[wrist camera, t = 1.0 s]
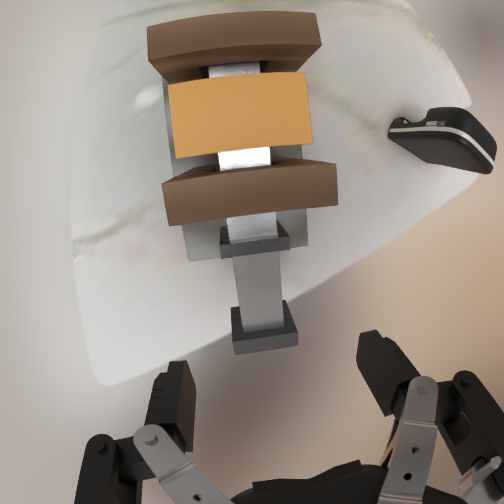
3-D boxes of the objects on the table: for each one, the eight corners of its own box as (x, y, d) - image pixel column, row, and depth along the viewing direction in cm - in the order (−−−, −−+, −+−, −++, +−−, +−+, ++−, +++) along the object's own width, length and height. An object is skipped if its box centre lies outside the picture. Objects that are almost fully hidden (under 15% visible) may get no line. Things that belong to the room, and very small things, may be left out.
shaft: (196, 47, 15) (188, 22, 11) (259, 41, 15) (269, 15, 11) (232, 319, 22) (235, 354, 18) (285, 312, 22) (298, 345, 18)
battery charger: (435, 137, 26) (505, 143, 15) (426, 164, 27) (498, 179, 16) (393, 107, 24) (466, 99, 14) (384, 136, 26) (457, 138, 15)
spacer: (186, 106, 18) (167, 85, 12) (279, 96, 18) (304, 72, 12) (192, 156, 20) (176, 158, 13) (284, 145, 20) (312, 143, 13)
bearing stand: (163, 65, 21) (110, -4, 8) (286, 52, 22) (340, -22, 8) (190, 257, 28) (164, 348, 15) (304, 241, 29) (366, 318, 15)
